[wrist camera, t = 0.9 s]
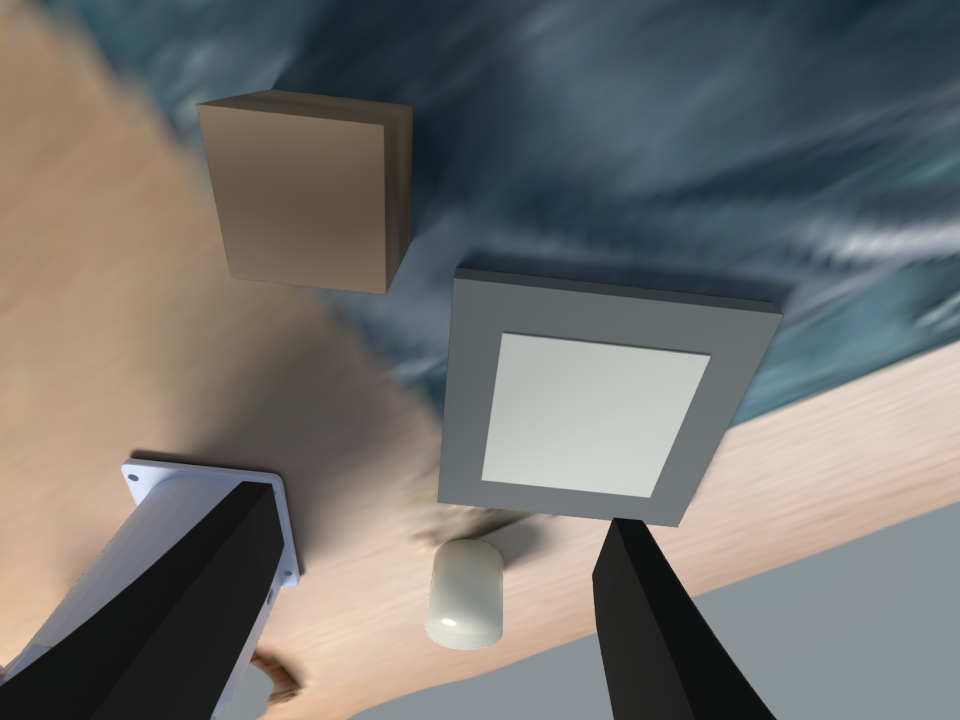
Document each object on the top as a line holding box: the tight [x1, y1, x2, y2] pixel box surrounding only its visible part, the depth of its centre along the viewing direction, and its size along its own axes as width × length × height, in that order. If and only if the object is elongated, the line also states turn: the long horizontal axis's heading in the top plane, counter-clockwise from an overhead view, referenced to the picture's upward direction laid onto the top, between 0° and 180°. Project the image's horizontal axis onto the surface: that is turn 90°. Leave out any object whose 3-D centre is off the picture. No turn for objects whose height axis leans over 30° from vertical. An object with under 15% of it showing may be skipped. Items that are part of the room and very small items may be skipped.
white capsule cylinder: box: [425, 539, 503, 650], centre depth 26 cm, size 4×4×4 cm
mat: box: [437, 267, 784, 527], centre depth 21 cm, size 12×12×1 cm
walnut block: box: [196, 89, 413, 295], centre depth 15 cm, size 4×4×4 cm
